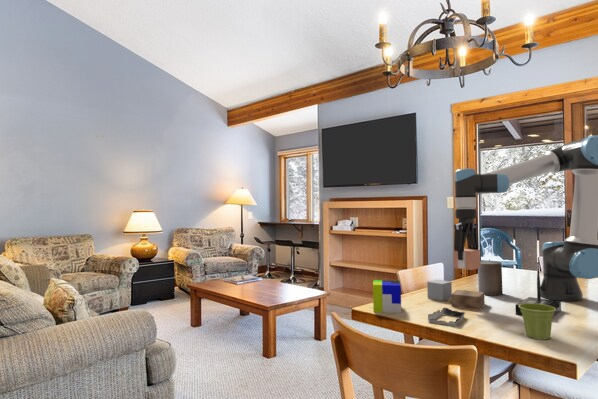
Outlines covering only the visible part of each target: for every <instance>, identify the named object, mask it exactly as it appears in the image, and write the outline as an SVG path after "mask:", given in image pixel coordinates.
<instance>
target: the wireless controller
mask: <svg viewBox="0 0 598 399" xmlns="http://www.w3.org/2000/svg"><path fill="white" fill-rule="evenodd" d="M536 264H537V266H536V267H537V275H536V292H537V293H536V294H537V296H536V297H531V296H529V297H527V298H525V299H523V300H521V301H519V302H518V303H516V304H515V315H517V316H522V313H521V310H520V308H519V305H520V304H526V303H533V304H542V305H548V306H552V307H554V308H556V311H554V315H553V318H554V317H555V316H557V315H558V314H559V313H560V312H561V311H562V302H561V300H553V299H548V298H542V297H541V290H540V286H541V277H540V262H539V261H537V262H536Z"/></svg>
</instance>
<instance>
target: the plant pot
mask: <svg viewBox="0 0 598 399" xmlns="http://www.w3.org/2000/svg"><path fill="white" fill-rule="evenodd" d="M519 308H520V310H521V313H522V315H521V316H522V319H523V325H524V326H523V327H524V330H525V335H526V337H529V338H532V339H535V340H547V339H551V334H552V326H553V318H554V317H553V315H554V311H556V308H554V307H552V306H548V305H542V304H533V303H526V304H520V305H519Z"/></svg>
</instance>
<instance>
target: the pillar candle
mask: <svg viewBox="0 0 598 399" xmlns="http://www.w3.org/2000/svg"><path fill="white" fill-rule="evenodd" d="M502 269H503V266H502V262H500V261H494V260H493V261H492V260H491V259H488V260H483V261H482V260H480V268H478V269H477V280H478V284H477V285H478V292H484V296H503V294H504V293H503V270H502Z"/></svg>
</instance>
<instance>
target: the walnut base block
mask: <svg viewBox="0 0 598 399" xmlns="http://www.w3.org/2000/svg"><path fill="white" fill-rule="evenodd" d="M450 300H451V307H452V306H453V307H452V308H460V307H461V308H460V309H468V308H469V309H470V310H479V311H480V310H481V309H482V308H483V307H484V306H485V295H484V292H479V291H478V290H477V291H475V290H466V289H456V290H455V291H454V292H452V294H451V299H450Z"/></svg>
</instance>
